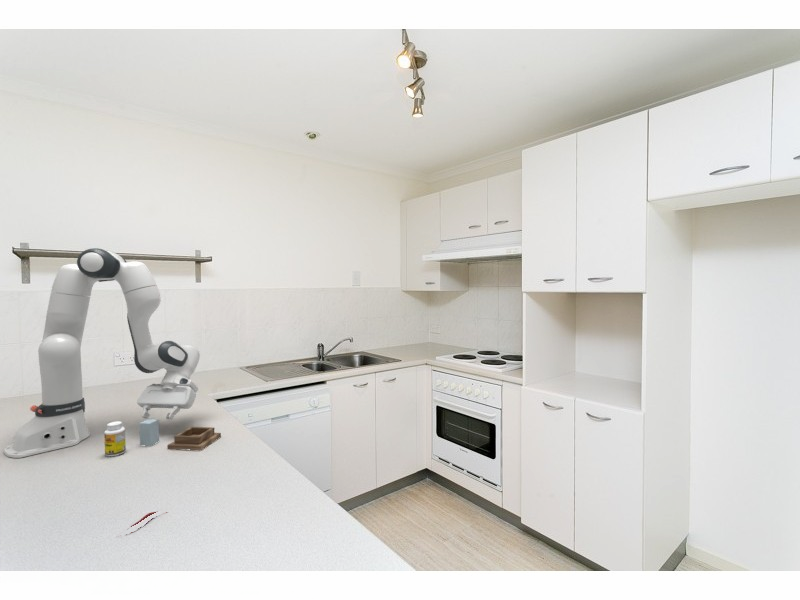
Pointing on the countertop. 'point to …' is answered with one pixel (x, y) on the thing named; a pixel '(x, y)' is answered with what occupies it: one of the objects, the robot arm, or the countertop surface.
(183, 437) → the board
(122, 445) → the supplement bottle
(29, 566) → the countertop surface
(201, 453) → the countertop surface
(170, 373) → the robot arm
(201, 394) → the countertop surface
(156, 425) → the block
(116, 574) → the countertop surface
